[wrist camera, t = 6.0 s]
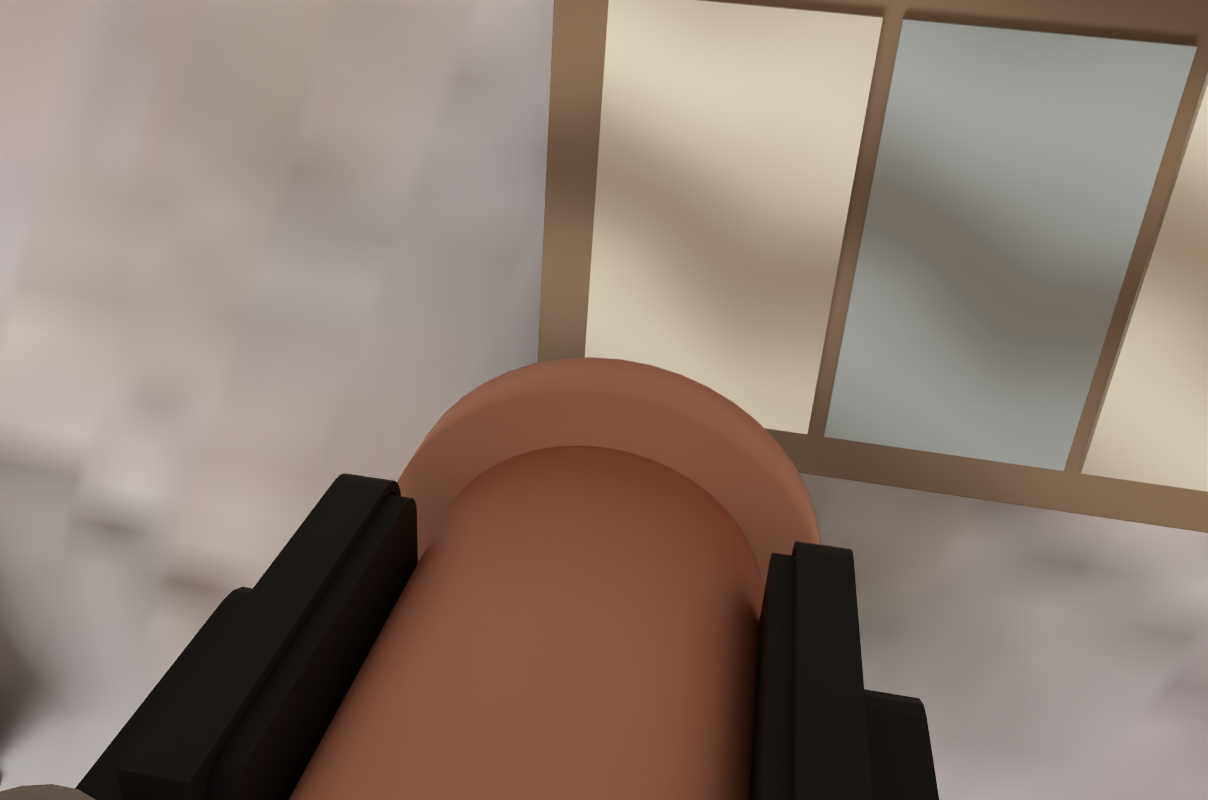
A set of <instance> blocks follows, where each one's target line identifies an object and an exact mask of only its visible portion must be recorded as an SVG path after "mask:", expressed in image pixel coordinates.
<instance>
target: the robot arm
mask: <svg viewBox="0 0 1208 800" xmlns="http://www.w3.org/2000/svg"><path fill="white" fill-rule="evenodd" d="M417 564H418V540H417V507H416V502H415V500H414V499H413V498H409V497H403V496H401V490H400V487H399V484H398V483H397V482H396V481H391V480H385V479H378V478H371V477H365V476H358V475H351V474H341V475H340V476H339V477H338V478H337V479H335V481H334V482H333V483H332V485H331V486H330V487H329V489H328V490H327V491H326V493H325V494H324V495H323V497H322V498H321V499H320V501H319V502H318V503H317V505H316V506H315V507H314V509H313V510H312V511H311V513H310V514H309V515H308V516H307V518H306V519H305V520H304V522H303V523H302V524H301V526H300V527H299V528H298V530H297V531H296V532H295V534H294V535H293V536H292V538H291V539H290V540H289V542H288V543H287V544H286V546H285V547H284V548H283V550H282V551H281V552H280V553H279V555H278V556H277V557H276V559H275V560H274V561H273V563H272V564H271V565H270V567H269V568H268V569H267V571H266V572H265V573H264V575H263V576H262V577H261V579H260V580H259V581H258V583H257V584H256V585H255V587H254V588H253V589H252V588H246V587H241V588H238V589H236V590H233V591H232V592H231V593H230V594H229V595H228V596H227V597H226V598H225V599H224V600H223V601H222V602H221V604H220V605H219V606H218V607H217V609H216V610H215V611H214V612H213V614H212V615H211V616H210V618H209V619H208V620H207V621H206V623H205V624H204V625H203V626H202V628H201V629H200V630H199V632H198V633H197V634H196V635H195V637H194V638H193V639H192V640H191V642H190V643H189V644H188V646H187V647H186V648H185V649H184V651H183V652H182V653H181V655H180V656H179V657H178V658H177V660H176V661H175V662H174V663H173V665H172V666H171V667H170V669H169V670H168V671H167V672H166V674H165V675H164V676H163V677H162V679H161V680H160V681H159V683H158V684H157V685H156V686H155V688H154V689H153V690H152V691H151V693H150V694H149V695H148V697H147V698H146V699H145V700H144V702H143V703H142V704H141V705H140V707H139V708H138V709H137V711H136V712H135V713H134V714H133V716H132V717H131V718H130V719H129V721H128V722H127V723H126V725H125V726H124V727H123V728H122V730H121V731H120V732H119V733H118V735H117V736H116V737H115V739H114V740H113V741H112V742H111V744H110V745H109V746H108V747H107V749H106V750H105V751H104V753H103V754H102V755H101V756H100V758H99V759H98V760H97V761H96V763H95V764H94V765H93V767H92V768H91V769H90V770H89V772H88V773H87V774H86V775H85V777H84V778H83V779H82V781H81V782H80V783H79V784H78V786H77V787H76V788H75V789H74V788H69V787H64V786H59V785H54V784H47V785H31V786H20V787H16V788H12V789H9V790H5V791H1V792H0V800H289V798H290V796H291V794H292V792H293V791H294V789H295V787H296V785H297V783H298V781H299V780H300V778H301V776H302V774H303V772H304V770H305V769H306V767H307V765H308V763H309V761H310V759H311V758H312V756H313V754H314V752H315V750H316V748H317V747H318V745H319V743H320V741H321V739H322V737H323V736H324V734H325V732H326V730H327V728H328V727H329V725H330V723H331V721H332V719H333V717H334V716H335V714H336V712H337V710H338V708H339V706H340V705H341V703H342V701H343V699H344V697H345V695H346V694H347V692H348V690H349V688H350V686H351V684H352V683H353V681H354V679H355V677H356V675H357V674H358V672H359V670H360V668H361V666H362V664H363V663H364V661H365V659H366V657H367V655H368V653H369V652H370V650H371V648H372V646H373V644H374V642H375V641H376V639H377V637H378V635H379V633H380V631H381V630H382V628H383V626H384V624H385V622H386V620H387V619H388V617H389V615H390V613H391V611H392V610H393V608H394V606H395V604H396V602H397V600H398V599H399V597H400V595H401V593H402V591H403V589H404V588H405V586H406V584H407V582H408V580H409V578H410V577H411V575H412V573H413V571H414V569H415V567H416V566H417ZM750 800H939V796H938V790H937V783H936V776H935V770H934V763H933V757H932V750H931V743H930V737H929V730H928V724H927V717H926V713H925V709H924V705H923V703H922V702H921V700H920V699H919V698H913V697H907V696H901V695H895V694H889V693H883V692H877V691H871V690H864V684H863V671H862V659H861V646H860V634H859V621H858V609H857V596H856V583H855V571H854V558H853V552H852V550H851V549H845V548H838V547H832V546H825V545H818V544H812V543H805V542H798V541H796V542H795V543H794V547H793V550H792V555H786V554H779V553H773V552H772V554H771V557H770V562H769V568H768V573H767V579H766V585H765V590H764V596H763V602H762V608H761V613H760V619H759V634H758V653H757V672H756V691H755V711H754V730H753V749H752V768H751V788H750Z"/></svg>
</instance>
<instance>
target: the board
mask: <svg viewBox="0 0 1208 800" xmlns="http://www.w3.org/2000/svg"><path fill="white" fill-rule="evenodd" d="M588 357H595V358H609V359H622V360H627V361H633V362H638V363H643V364H648V365H653V366H656V367H659V368H662V369H665V370H668V371H671V372H675V373H678V374H681V375H683V376H685V377H687V378H690V379H692V380H694V381H696V382H698V383H701V384H703V385H705V386H707V387H709V388H711V389H712V390H714V391H716V392H717V393H719V394H721V395H722V396H724V397H726V398H727V399H729V400H730V401H732V402H734V403H735V404H736V405H738V406H739V407H740V408H741V409H743V410H744V411H745V412H746V413H748V414H749V415H750V416H752V417H753V418H754V419H755V420H757V421H758V422H759V423H760V424H761V425H762V426H763V428H764V429H765V430H766V431H767V432H768V433H769V434H770V435H771V436H772V437H773V438H774V439H775V440H776V441H777V442H778V443H779V445H780V446H781V447H782V449H783V450H784V451H785V453H786V454H787V455H788V457H789V458H790V460H791V461H792V462H793V464H794V465H795V467H796V469H797V471H798V472H800V473H807V474H813V475H820V476H827V477H834V478H840V479H847V480H854V481H861V482H867V483H874V484H881V485H888V486H894V487H901V488H908V489H915V490H922V491H928V492H935V493H942V494H949V495H955V496H962V497H969V498H976V499H982V500H989V501H996V502H1003V503H1009V504H1016V505H1023V506H1030V507H1037V508H1043V509H1050V510H1057V511H1064V512H1070V513H1077V514H1084V515H1091V516H1097V517H1104V518H1111V519H1118V520H1124V521H1131V522H1138V523H1145V524H1152V525H1158V526H1165V527H1172V528H1179V529H1185V530H1192V531H1199V532H1206V533H1208V0H554V16H553V38H552V61H551V83H550V105H549V128H548V150H547V172H546V195H545V217H544V239H543V262H542V284H541V306H540V329H539V351H538V363H541V362H547V361H553V360H558V359H567V358H588Z"/></svg>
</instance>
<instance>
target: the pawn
mask: <svg viewBox="0 0 1208 800" xmlns="http://www.w3.org/2000/svg"><path fill="white" fill-rule="evenodd" d="M397 483H398V484H399V487H400V490H401V496H403V497H409V498H413V499H414V500H415V502H416V507H417V540H418V564H417V566H416V567H415V569H414V571H413V573H412V575H411V577H410V578H409V580H408V582H407V584H406V586H405V588H404V589H403V591H402V593H401V595H400V597H399V599H398V600H397V602H396V604H395V606H394V608H393V610H392V611H391V613H390V615H389V617H388V619H387V620H386V622H385V624H384V626H383V628H382V630H381V631H380V633H379V635H378V637H377V639H376V641H375V642H374V644H373V646H372V648H371V650H370V652H369V653H368V655H367V657H366V659H365V661H364V663H363V664H362V666H361V668H360V670H359V672H358V674H357V675H356V677H355V679H354V681H353V683H352V684H351V686H350V688H349V690H348V692H347V694H346V695H345V697H344V699H343V701H342V703H341V705H340V706H339V708H338V710H337V712H336V714H335V716H334V717H333V719H332V721H331V723H330V725H329V727H328V728H327V730H326V732H325V734H324V736H323V737H322V739H321V741H320V743H319V745H318V747H317V748H316V750H315V752H314V754H313V756H312V758H311V759H310V761H309V763H308V765H307V767H306V769H305V770H304V772H303V774H302V776H301V778H300V780H299V781H298V783H297V785H296V787H295V789H294V791H293V792H292V794H291V796H290V798H289V800H750V788H751V768H752V749H753V730H754V711H755V691H756V672H757V653H758V634H759V619H760V613H761V608H762V602H763V596H764V590H765V585H766V579H767V573H768V568H769V562H770V557H771V554H772V552H773V553H779V554H786V555H792V550H793V547H794V543H795V542H796V541H798V542H805V543H812V544H818V545H820V533H819V528H818V523H817V518H816V513H815V509H814V507H813V504H812V501H811V498H810V496H809V493H808V490H807V488H806V486H805V484H804V482H803V480H802V478H801V476H800V475H799V473H798V471H797V469H796V467H795V465H794V464H793V462H792V461H791V460H790V458H789V457H788V455H787V454H786V453H785V451H784V450H783V449H782V447H781V446H780V445H779V443H778V442H777V441H776V440H775V439H774V438H773V437H772V436H771V435H770V434H769V433H768V432H767V431H766V430H765V429H764V428H763V426H762V425H761V424H760V423H759V422H758V421H757V420H755V419H754V418H753V417H752V416H750V415H749V414H748V413H746V412H745V411H744V410H743V409H741V408H740V407H739V406H738V405H736V404H735V403H734V402H732V401H730V400H729V399H727V398H726V397H724V396H722V395H721V394H719V393H717V392H716V391H714V390H712V389H711V388H709V387H707V386H705V385H703V384H701V383H698V382H696V381H694V380H692V379H690V378H687V377H685V376H683V375H681V374H678V373H675V372H671V371H668V370H665V369H662V368H659V367H656V366H653V365H648V364H643V363H638V362H633V361H627V360H622V359H609V358H595V357H588V358H567V359H558V360H553V361H547V362H541V363H536V364H532V365H529V366H526V367H522V368H519V369H516V370H513V371H510V372H507V373H505V374H503V375H501V376H498V377H496V378H494V379H492V380H490V381H488V382H486V383H484V384H482V385H481V386H479V387H478V388H476V389H475V390H473V391H472V392H470V393H468V394H467V395H465V396H464V397H462V398H461V399H460V400H459V401H458V402H457V403H456V404H455V405H454V406H452V407H451V408H450V409H449V410H448V411H447V412H446V413H445V414H444V415H443V416H442V417H441V418H440V420H439V421H438V422H437V423H436V424H435V426H434V427H433V428H432V429H431V431H430V432H429V433H428V435H427V436H426V438H425V439H424V441H423V442H422V444H421V445H420V447H419V448H418V450H417V451H416V453H415V455H414V456H413V458H412V459H411V461H410V462H409V464H408V465H407V467H406V468H405V470H404V472H403V473H402V475H401V477H400V479H399V480H398V482H397Z"/></svg>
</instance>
